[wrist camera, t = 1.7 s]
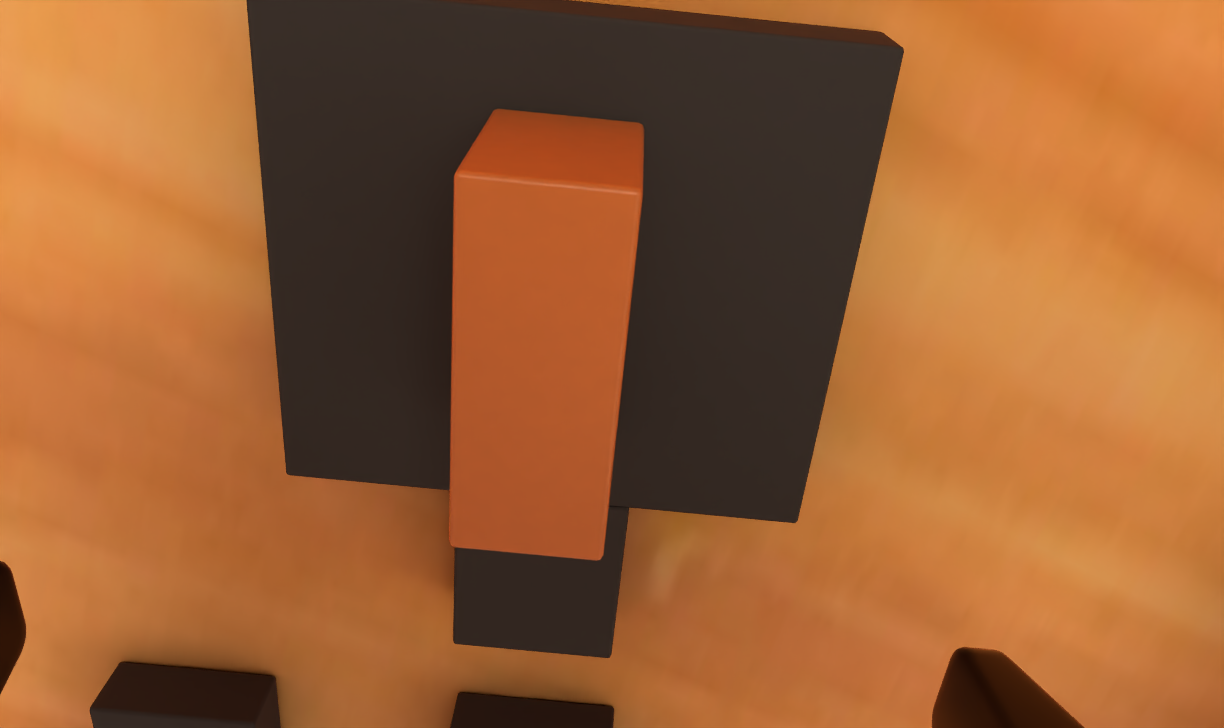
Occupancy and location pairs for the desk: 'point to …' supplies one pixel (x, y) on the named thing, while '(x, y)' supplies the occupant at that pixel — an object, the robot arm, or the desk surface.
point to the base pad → (249, 714)
